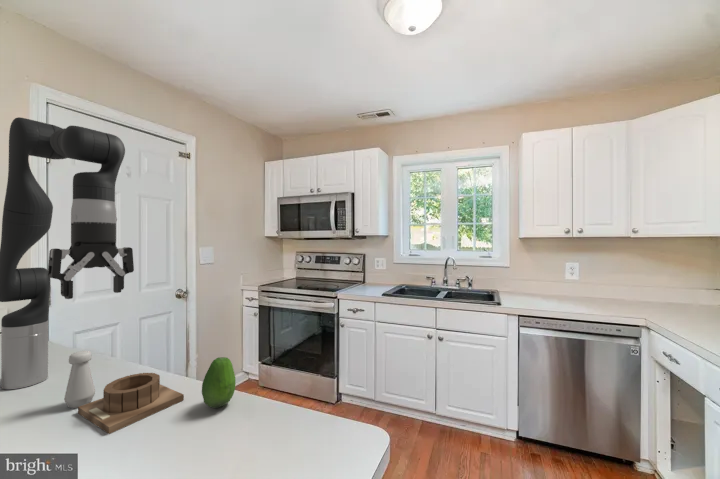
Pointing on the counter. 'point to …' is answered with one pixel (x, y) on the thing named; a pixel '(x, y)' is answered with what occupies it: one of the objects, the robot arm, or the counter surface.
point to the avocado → (219, 383)
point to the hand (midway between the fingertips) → (94, 295)
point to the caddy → (129, 401)
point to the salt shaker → (79, 380)
